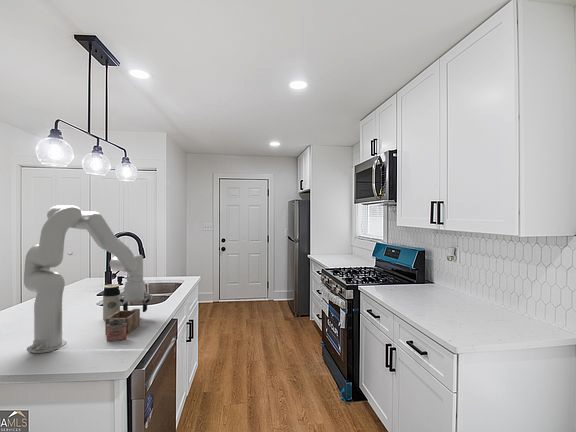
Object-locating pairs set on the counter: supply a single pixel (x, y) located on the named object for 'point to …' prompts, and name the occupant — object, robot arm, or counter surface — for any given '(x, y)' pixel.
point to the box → (130, 319)
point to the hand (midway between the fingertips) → (135, 311)
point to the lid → (137, 310)
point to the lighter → (116, 330)
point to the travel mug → (111, 300)
